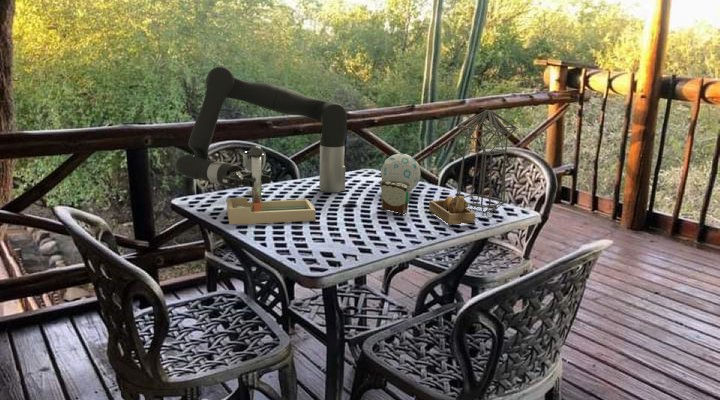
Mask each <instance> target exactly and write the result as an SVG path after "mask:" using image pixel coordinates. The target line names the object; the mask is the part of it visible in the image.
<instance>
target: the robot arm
mask: <svg viewBox="0 0 720 400" xmlns="http://www.w3.org/2000/svg"><path fill="white" fill-rule="evenodd" d="M204 84H205V87H206V92H205V96H204V100H203V102H202V105H201V108H200V111H199V113H198V115H197V118H196V120H195V123H194V125H193V126H192V130H191V133H190V136H189V140H188V143H187V145H188V148H190V150H192V151H193V155H191V154H183V155H180V156H179V157H178V158H177V159H176V161H175V169H176V172H177V173H179V174H180V175H182V176H185V177H187V178H189V179H193V180H202V181H206V182H208V183H209V182H211V183H213V184H216V185H219V186H225V187H229V188H237V187H248V188H252V187H254V180H252V170H251V171H248V170H247V169H246V170H243V169H242V168H241V166H240V165H238V164H237V163H236V164H235V163H230V162H225V161H217V160H216V161H215V160H209V149H210V146H211V143H212V140H213V136H214V133H215V130H216V126H217V123H218V119H219V117H220V113H221V110H222V107H223V105H224V102H226V101H225V100H226V99H232V100H233V99H234V100H238V101H242V102H246V103H249V104H251V105H254V106H257V107H259V108H262V109H265V110H269V111H273V112H276V113H280V114H284V115H290V116H298V117H299V116H301V117H305V118H309V119H312V120H314V121H316V122H319V123H321V124H322V125H321V127H322V128H321V137H320V139H319V191H321V192H324V193H340V192H346V165H345V145H346V144H345V141H346V139H347V131H348V130H347V129H348V127H347V126H348V115H347V110H346V108H345V107H344V106H343V105H342V104H340V103H338V102H336V101H330V100H322V99H318V98H313V97H309V96H307V95H304V94H303V93H301V92H298V91H296V90H292V89H291V88H289V87H288V88H287V87H284V86H281V85H279V84H278V85H277V84H273V83H270V82H269V83H267V82H257V81H248V80H244V79H241V78H238V77H235V76H234V74H233V72H232V71H231V70H230V69H229V68H228V67H226V66H219V65H218V66H216V67H214V68H212V69H211V70H210V71H209V72H208V74H207V76H206V78H205V83H204ZM271 182H272V177H271V175H266V172H265V171H261V183H265V184H270V183H271Z"/></svg>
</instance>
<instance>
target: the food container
mask: <svg viewBox="0 0 720 400" xmlns="http://www.w3.org/2000/svg"><path fill="white" fill-rule="evenodd" d="M379 187H380V191H381V192H380V195H381V210H382V209H386V210H390V211H394V212H398V213H401V214H405V213H407V212H408V208H409V200H410V194H411V192H412V191H413V189H412V187H411V184H410V183H409V182H406V181H402V180H382V179H381V180H380V183H379ZM386 210H385V211H386ZM405 215H406V214H405Z"/></svg>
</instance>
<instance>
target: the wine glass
mask: <svg viewBox="0 0 720 400" xmlns="http://www.w3.org/2000/svg"><path fill="white" fill-rule="evenodd" d="M242 154H243V163H244V164H243V165H244V167H245V169H246V171H251V170H252V167H251V156H250V150H248V151H243V153H242ZM266 158H267V157H266V152H265V151H263V154H262V156H261V172H263V170H264V168H265V165H266ZM244 193H245V194H246V195H249V196H252V189H251V190H247V191H245V192H244ZM262 195H265V191H264V190H262Z"/></svg>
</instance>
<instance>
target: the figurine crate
mask: <svg viewBox="0 0 720 400" xmlns="http://www.w3.org/2000/svg"><path fill="white" fill-rule="evenodd" d="M445 200H446V199H445ZM445 200H444V199H441V200H440V199H439V200H429V208H428V212H429V211H431V212H432V213H434V214H435V215H436V216H438V217H439V218H441V219H442V220H443V221H445V222H446V223H448V224H449V225H452V224H461V223H474V224H475V223H476V222H475V221H476V217H475V216H476V213H475V212H474V211H473V210H469V209H467V208H468V207H467V208H466V209H465V208H464V209H463V211H461V212H460V213H456V214H451V213H449V212H448V211H447V210H448V207H447V209H446V210H445V209H444V203H445Z"/></svg>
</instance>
